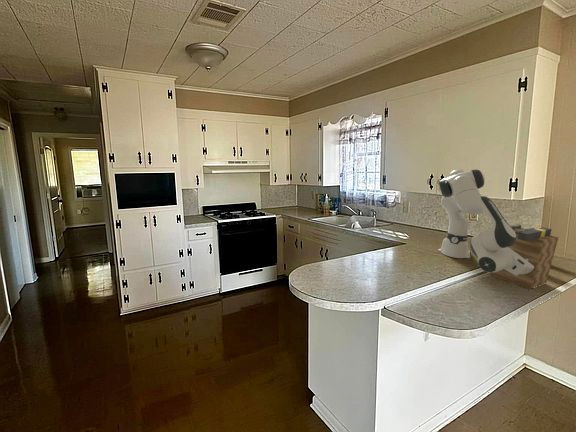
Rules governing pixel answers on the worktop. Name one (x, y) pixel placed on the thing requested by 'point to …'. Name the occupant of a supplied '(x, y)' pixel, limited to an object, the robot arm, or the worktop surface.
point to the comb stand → (531, 259)
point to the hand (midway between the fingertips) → (517, 252)
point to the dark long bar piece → (534, 234)
